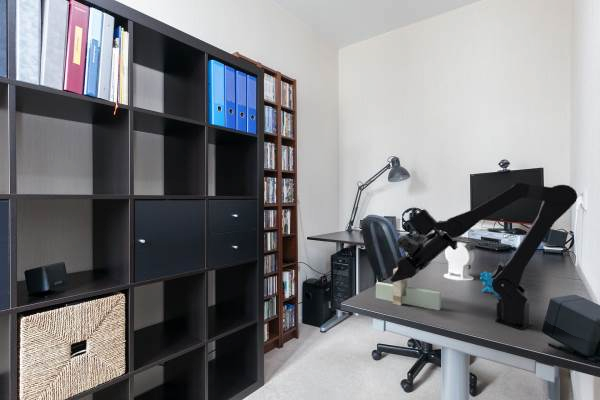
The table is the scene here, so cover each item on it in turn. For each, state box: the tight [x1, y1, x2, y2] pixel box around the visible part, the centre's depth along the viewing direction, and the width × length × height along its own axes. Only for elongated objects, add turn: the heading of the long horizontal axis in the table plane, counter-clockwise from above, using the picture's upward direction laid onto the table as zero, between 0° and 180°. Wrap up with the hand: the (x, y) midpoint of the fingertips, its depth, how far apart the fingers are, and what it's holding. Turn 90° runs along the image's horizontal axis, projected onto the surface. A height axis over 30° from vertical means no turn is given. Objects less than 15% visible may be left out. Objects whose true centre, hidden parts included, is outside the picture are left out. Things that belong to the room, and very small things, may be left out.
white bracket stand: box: [443, 241, 477, 282], centre depth 133 cm, size 12×11×15 cm
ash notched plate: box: [392, 266, 408, 307], centre depth 102 cm, size 7×2×11 cm, turn 145°
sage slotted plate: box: [375, 281, 442, 311], centre depth 101 cm, size 20×2×5 cm, turn 55°
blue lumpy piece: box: [479, 270, 500, 297], centre depth 111 cm, size 11×6×10 cm
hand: (396, 278), depth 103 cm, fingers open, 9 cm apart
